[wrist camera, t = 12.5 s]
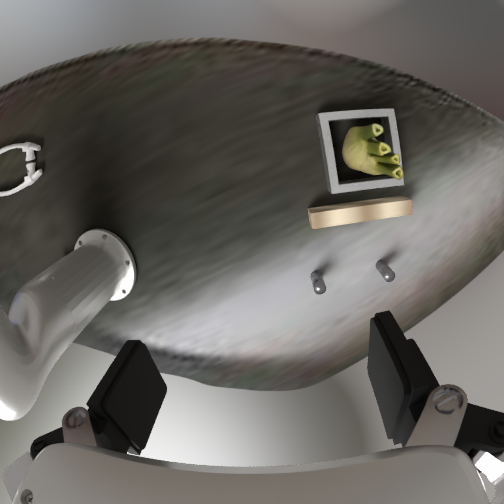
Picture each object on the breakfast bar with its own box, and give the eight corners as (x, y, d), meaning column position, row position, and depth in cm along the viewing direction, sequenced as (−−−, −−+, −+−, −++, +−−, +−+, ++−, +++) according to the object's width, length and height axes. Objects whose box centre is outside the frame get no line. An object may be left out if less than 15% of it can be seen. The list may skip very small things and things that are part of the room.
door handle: (49, 185, 38) (-13, 200, 40) (45, 131, 35) (-17, 158, 36) (39, 188, 36) (-21, 203, 37) (35, 132, 32) (-25, 160, 34)
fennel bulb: (337, 128, 32) (366, 121, 21) (372, 129, 32) (413, 124, 21) (340, 172, 34) (369, 184, 23) (374, 172, 34) (415, 184, 23)
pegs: (311, 281, 40) (314, 295, 37) (310, 271, 40) (313, 284, 36) (385, 268, 39) (395, 280, 35) (385, 259, 38) (395, 270, 34)
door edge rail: (309, 222, 37) (312, 229, 34) (307, 208, 36) (310, 213, 34) (403, 209, 35) (412, 214, 32) (402, 195, 35) (411, 199, 32)
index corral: (327, 190, 35) (331, 193, 33) (315, 115, 32) (318, 113, 29) (395, 182, 34) (403, 185, 31) (385, 110, 31) (393, 108, 28)
